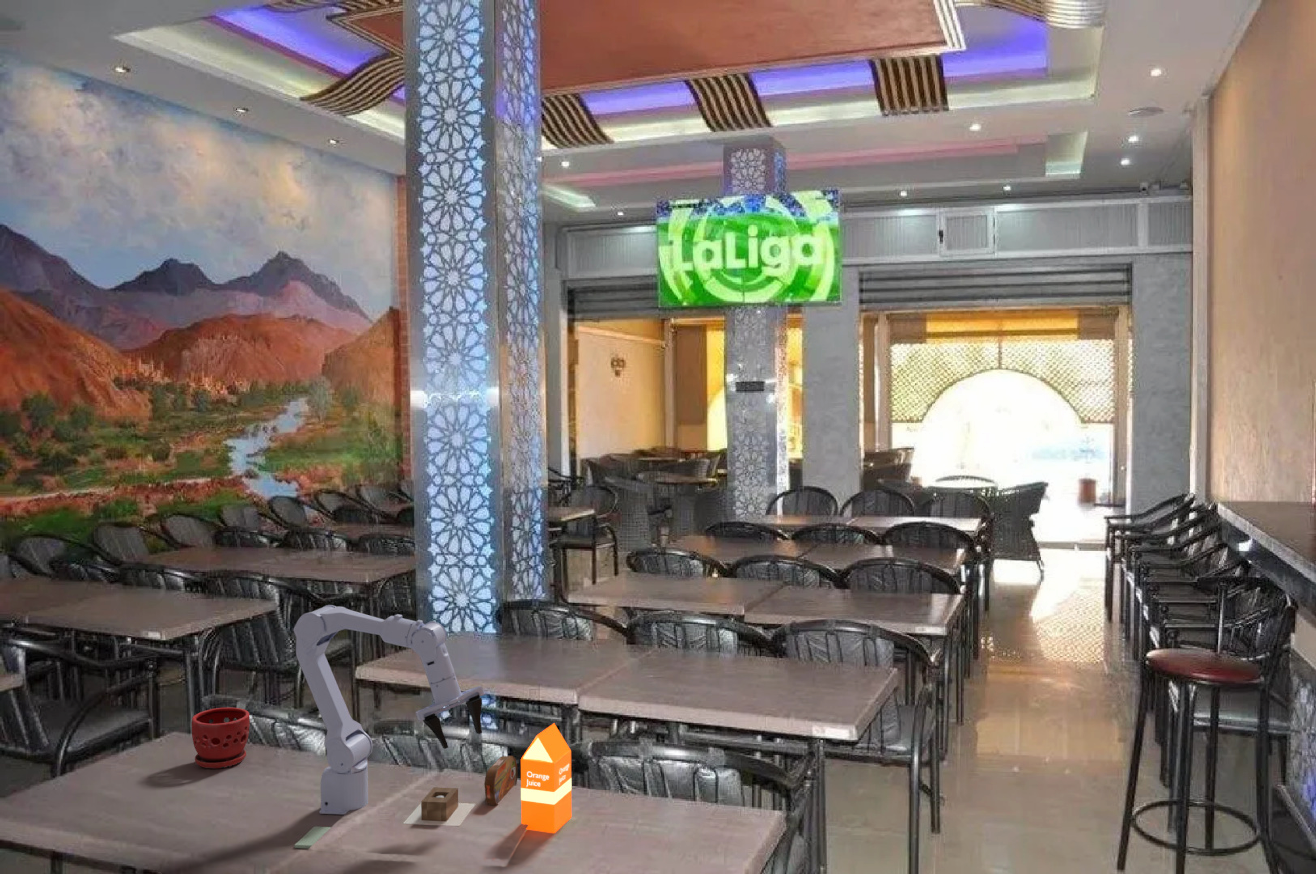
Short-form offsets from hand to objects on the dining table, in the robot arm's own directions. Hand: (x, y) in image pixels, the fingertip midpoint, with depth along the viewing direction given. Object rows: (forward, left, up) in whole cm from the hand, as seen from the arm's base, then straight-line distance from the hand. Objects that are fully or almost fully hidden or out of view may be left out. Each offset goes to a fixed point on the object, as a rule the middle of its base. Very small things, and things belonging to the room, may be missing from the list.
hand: (462, 740), depth 225 cm
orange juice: (+18, -1, -17) cm, 25 cm away
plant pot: (-69, +26, -17) cm, 76 cm away
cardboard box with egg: (-5, -1, -16) cm, 16 cm away
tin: (+5, +11, -17) cm, 21 cm away
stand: (-5, -1, -17) cm, 17 cm away
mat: (-20, -14, -17) cm, 29 cm away
